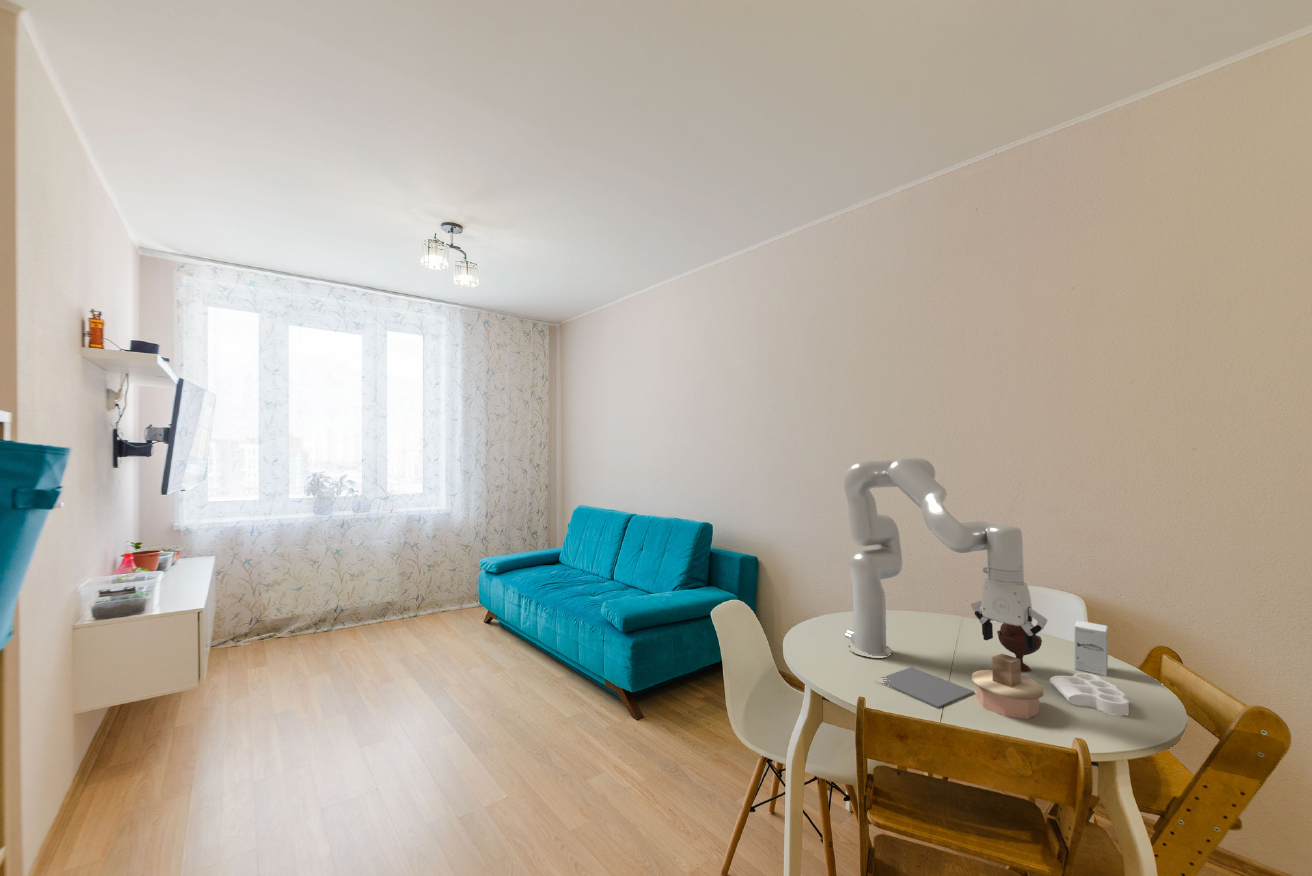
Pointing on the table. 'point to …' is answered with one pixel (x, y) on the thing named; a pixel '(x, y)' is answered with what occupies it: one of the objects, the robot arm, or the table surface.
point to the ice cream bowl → (1016, 642)
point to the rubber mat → (926, 687)
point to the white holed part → (1092, 693)
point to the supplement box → (1091, 647)
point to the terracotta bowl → (1008, 705)
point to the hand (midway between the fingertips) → (1008, 644)
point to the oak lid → (1007, 679)
